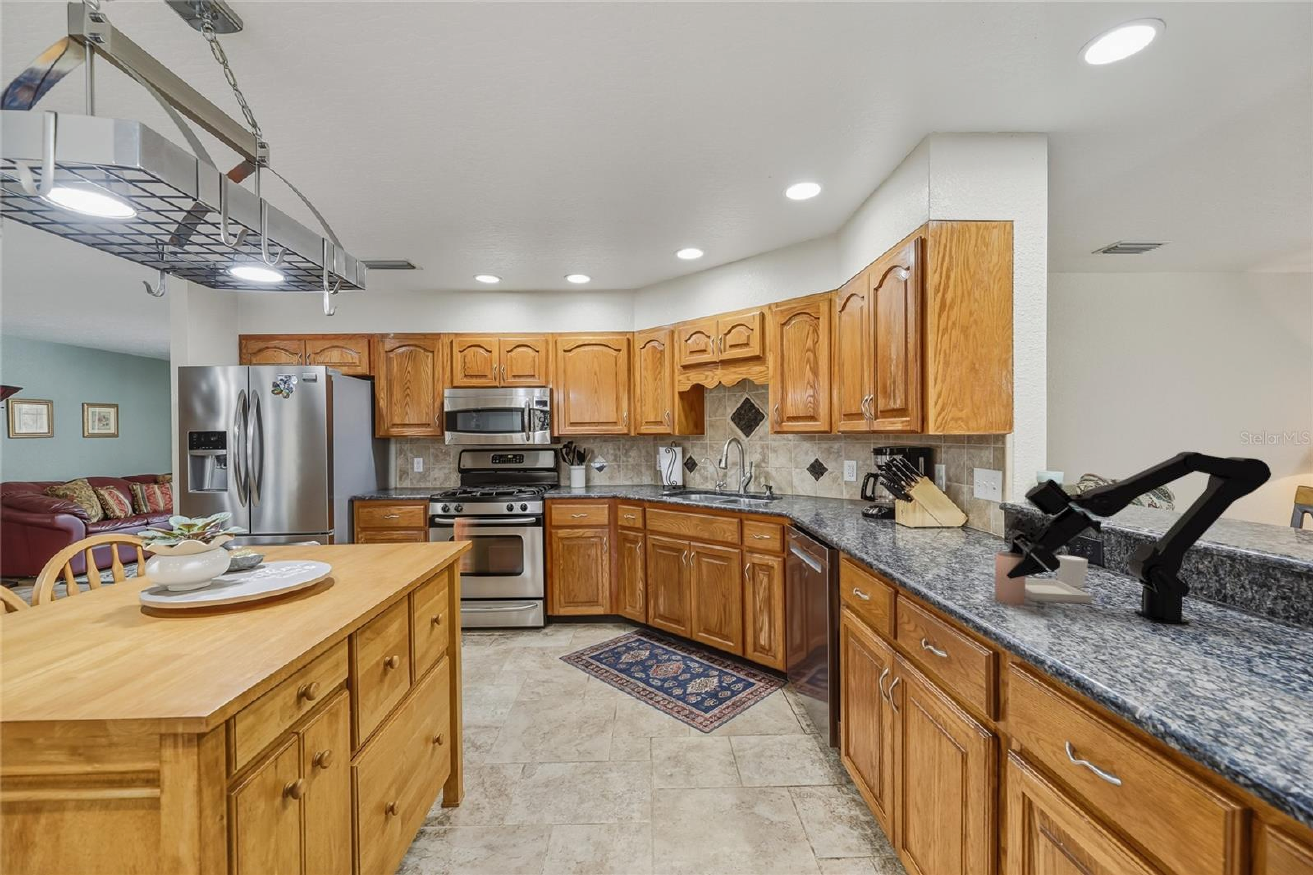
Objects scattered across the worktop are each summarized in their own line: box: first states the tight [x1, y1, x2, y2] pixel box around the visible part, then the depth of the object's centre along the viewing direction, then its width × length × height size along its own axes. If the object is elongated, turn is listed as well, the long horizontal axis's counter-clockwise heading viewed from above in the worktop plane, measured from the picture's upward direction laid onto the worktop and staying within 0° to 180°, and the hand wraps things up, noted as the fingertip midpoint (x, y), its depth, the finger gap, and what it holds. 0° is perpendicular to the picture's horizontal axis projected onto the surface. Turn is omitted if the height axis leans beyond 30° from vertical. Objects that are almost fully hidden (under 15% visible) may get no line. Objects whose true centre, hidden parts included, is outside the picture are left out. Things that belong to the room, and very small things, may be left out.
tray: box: [1025, 578, 1093, 605], centre depth 132 cm, size 13×13×2 cm
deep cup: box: [994, 551, 1026, 606], centre depth 127 cm, size 6×6×11 cm
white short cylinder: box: [1055, 554, 1089, 588], centre depth 142 cm, size 7×7×7 cm
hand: (1003, 572), depth 127 cm, fingers open, 9 cm apart
